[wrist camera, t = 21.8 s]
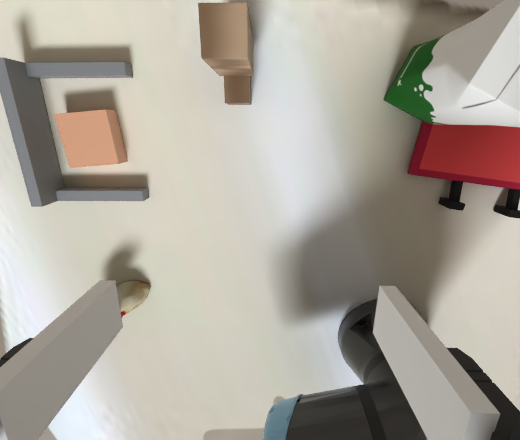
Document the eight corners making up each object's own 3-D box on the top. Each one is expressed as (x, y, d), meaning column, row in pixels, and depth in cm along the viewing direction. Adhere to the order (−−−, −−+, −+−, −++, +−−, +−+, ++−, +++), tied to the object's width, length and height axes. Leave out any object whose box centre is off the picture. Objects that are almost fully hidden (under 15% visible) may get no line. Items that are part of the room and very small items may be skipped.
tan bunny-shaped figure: (104, 277, 48) (64, 315, 39) (150, 280, 48) (122, 319, 39) (107, 305, 50) (70, 347, 41) (152, 308, 50) (125, 351, 41)
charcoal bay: (131, 64, 38) (111, 56, 33) (148, 197, 43) (134, 206, 39) (25, 65, 38) (-10, 57, 33) (56, 197, 44) (31, 206, 39)
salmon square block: (117, 110, 40) (105, 109, 37) (128, 160, 42) (118, 163, 39) (68, 114, 40) (53, 114, 37) (82, 164, 42) (69, 167, 40)
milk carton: (428, 132, 40) (577, 142, 21) (372, 102, 38) (475, 84, 20) (469, 68, 37) (683, 12, 18) (410, 34, 36) (571, -64, 17)
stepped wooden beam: (253, 18, 36) (246, -43, 22) (254, 104, 39) (248, 95, 26) (222, 18, 36) (195, -43, 23) (225, 104, 39) (203, 95, 26)
